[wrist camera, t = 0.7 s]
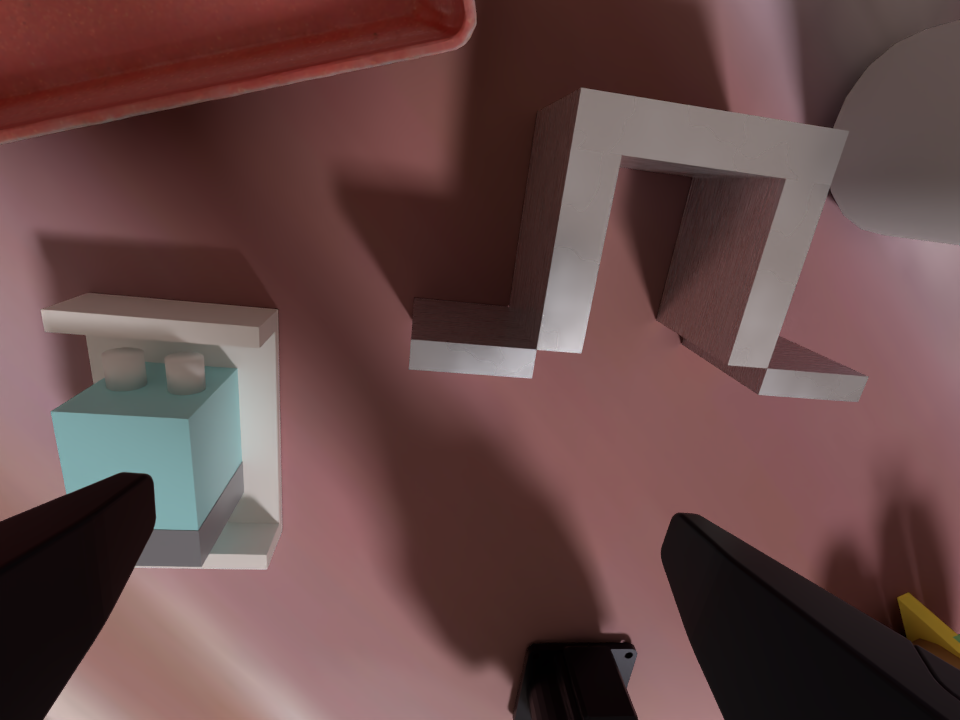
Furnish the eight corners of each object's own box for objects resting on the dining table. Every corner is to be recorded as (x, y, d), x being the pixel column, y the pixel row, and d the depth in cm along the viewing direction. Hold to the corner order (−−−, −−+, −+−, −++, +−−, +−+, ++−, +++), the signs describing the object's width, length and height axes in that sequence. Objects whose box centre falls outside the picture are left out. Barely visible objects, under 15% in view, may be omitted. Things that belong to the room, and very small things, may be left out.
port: (760, 351, 23) (858, 402, 18) (412, 320, 21) (408, 369, 16) (826, 156, 20) (964, 149, 15) (429, 95, 18) (432, 63, 13)
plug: (244, 492, 22) (201, 566, 18) (146, 488, 21) (78, 564, 17) (236, 340, 20) (185, 385, 15) (126, 331, 19) (42, 376, 15)
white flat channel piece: (282, 530, 24) (267, 569, 21) (123, 526, 23) (89, 566, 20) (278, 309, 20) (258, 327, 18) (87, 292, 19) (40, 309, 17)
